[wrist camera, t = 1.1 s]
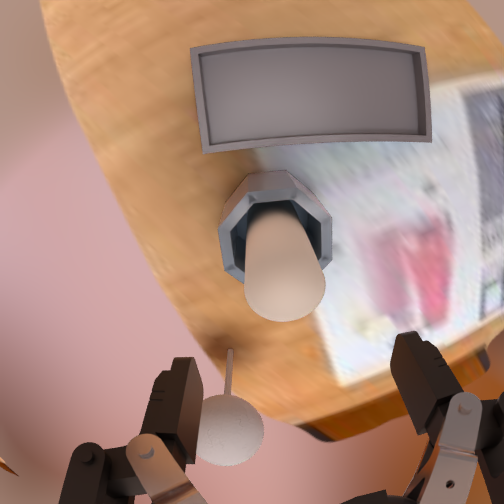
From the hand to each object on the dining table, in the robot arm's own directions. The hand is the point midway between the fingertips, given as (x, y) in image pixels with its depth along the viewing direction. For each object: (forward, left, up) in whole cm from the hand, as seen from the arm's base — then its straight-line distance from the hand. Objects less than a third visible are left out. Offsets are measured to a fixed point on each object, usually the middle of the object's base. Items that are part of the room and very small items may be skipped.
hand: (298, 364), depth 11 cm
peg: (0, 0, -18) cm, 18 cm away
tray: (-5, -11, -19) cm, 22 cm away
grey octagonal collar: (0, 0, -19) cm, 19 cm away
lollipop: (+6, +16, -19) cm, 25 cm away
